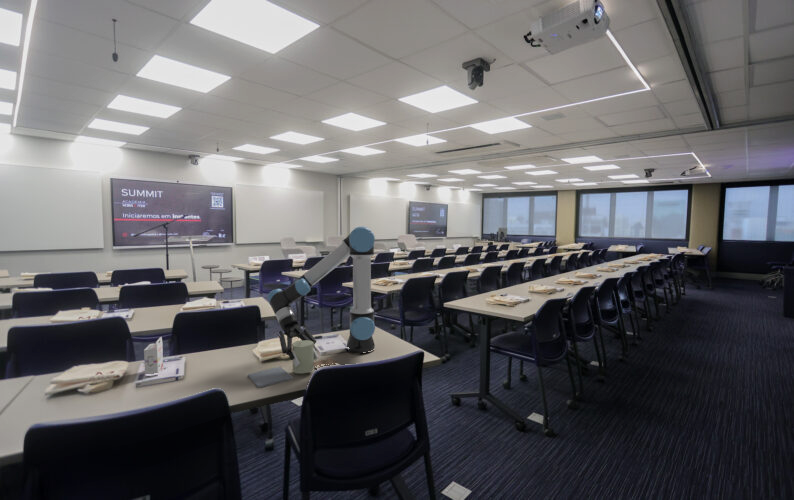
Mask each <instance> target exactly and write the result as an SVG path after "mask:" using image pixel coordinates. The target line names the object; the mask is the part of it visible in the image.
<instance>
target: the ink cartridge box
mask: <svg viewBox="0 0 794 500" xmlns="http://www.w3.org/2000/svg"><path fill="white" fill-rule="evenodd" d="M163 347H164V346H163V338H162V336H160V337H159V338H158V339H157V340H156V341H155V343H149V344H148V345H147V346H146V347H145V348H144V349H143V355H144V357H143V358H144V359H143V361H144V363H143V364H144V375H145V374H154V373H159V371H160V370H161V369H162V367H163V368H164V354H163V353H164V352H163V351H164V350H163ZM162 370H163V369H162ZM162 370H161V371H162ZM159 374H160V373H159Z"/></svg>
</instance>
